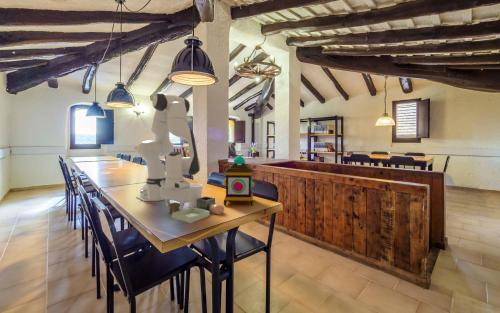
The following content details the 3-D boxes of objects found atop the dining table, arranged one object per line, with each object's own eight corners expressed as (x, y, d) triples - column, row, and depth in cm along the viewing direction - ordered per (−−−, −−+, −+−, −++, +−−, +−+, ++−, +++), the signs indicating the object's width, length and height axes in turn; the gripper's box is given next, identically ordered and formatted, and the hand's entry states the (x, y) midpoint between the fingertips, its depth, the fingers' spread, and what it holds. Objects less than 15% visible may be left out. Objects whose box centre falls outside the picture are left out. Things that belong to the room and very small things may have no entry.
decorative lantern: (254, 207, 141) (255, 156, 139) (221, 206, 142) (221, 156, 140) (254, 198, 161) (255, 154, 159) (225, 198, 162) (225, 154, 160)
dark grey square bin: (196, 211, 132) (196, 199, 132) (205, 208, 138) (205, 196, 138) (206, 213, 128) (206, 200, 128) (215, 210, 134) (215, 198, 134)
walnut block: (169, 215, 126) (169, 203, 126) (175, 213, 129) (175, 202, 129) (174, 216, 124) (174, 205, 123) (180, 214, 127) (180, 203, 127)
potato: (208, 209, 127) (213, 202, 130) (211, 215, 129) (216, 208, 133) (216, 211, 123) (221, 203, 127) (220, 217, 126) (225, 209, 129)
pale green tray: (171, 219, 119) (171, 213, 119) (191, 212, 130) (191, 207, 130) (190, 224, 112) (190, 218, 112) (209, 216, 123) (209, 211, 123)
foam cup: (198, 209, 135) (198, 187, 134) (183, 208, 137) (183, 186, 136) (205, 205, 145) (204, 184, 144) (190, 204, 147) (190, 183, 146)
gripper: (156, 181, 128) (157, 206, 129) (182, 185, 117) (183, 213, 118) (166, 179, 133) (167, 204, 135) (192, 183, 122) (192, 210, 123)
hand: (174, 208), depth 126 cm, fingers open, 8 cm apart
